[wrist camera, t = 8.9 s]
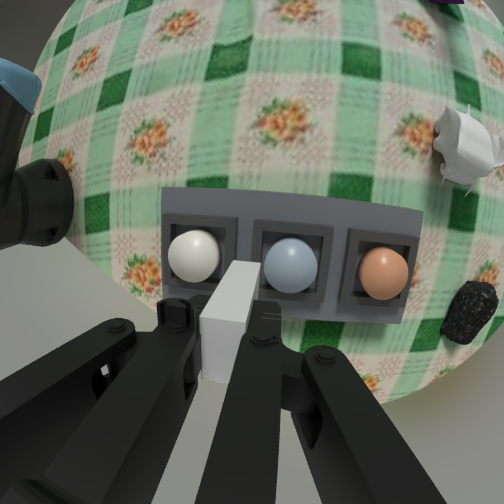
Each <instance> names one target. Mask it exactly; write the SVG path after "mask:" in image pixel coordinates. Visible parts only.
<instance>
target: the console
mask: <svg viewBox="0 0 504 504" xmlns="http://www.w3.org/2000/svg"><path fill="white" fill-rule="evenodd" d="M422 219H423V211H419V210H414V209H410V208H404V207H398V206H392V205H385V204H378V203H372V202H364V201H357V200H349V199H341V198H333V197H324V196H315V195H305V194H295V193H284V192H271V191H258V190H242V189H224V188H199V187H162V195H161V267H162V290H163V299H167V298H183V299H188V300H189V299H190V298H191V297H193V296H195V295H197V294H203V295H210V296H212V295H213V293H214V291H215V290H216V288H217V286H218V285H219V283H220V281H221V280H222V278H223V276H224V275H225V273H226V271H227V270H228V268H229V266H230V265H231V263H232V262H233V260H237V261H247V262H257V263H261V268H260V279H259V291H258V300H261V301H271V302H277V303H278V304H279V306H280V307H281V317H287V318H298V319H310V320H324V321H340V322H359V323H387V324H400V323H401V320H402V316H403V313H404V309H405V305H406V302H407V298H408V294H409V290H410V286H411V281H412V277H413V272H414V267H415V262H416V257H417V252H418V246H419V240H420V234H421V227H422ZM194 229H201V230H205V231H208V232H209V233H211V234H212V235H213V236H214V237H215V238H216V239H217V240H218V242H219V244H220V247H221V253H222V255H221V261H220V263H219V265H218V267H217V268H216V269H215V270H214V271H213V273H212V274H211V275H210V276H209V277H208V278H207V279H205V280H203V281H201V282H188V281H185V280H183V279H181V278H179V277H178V276H177V275H176V274H175V273H174V272H173V270H172V268H171V266H170V264H169V260H168V251H169V247H170V245H171V243H172V242H173V240H174V239H175V238H176V237H178V236H179V235H182V234H184V233H186V232H188V231H190V230H194ZM286 237H295V238H299V239H301V240H303V241H305V242H306V243H307V244H308V245H309V246H310V247H311V249H312V250H313V253H314V255H315V258H316V261H317V274H316V277H315V279H314V281H313V282H312V283H311V284H310V286H308V287H307V288H306V289H304V290H302V291H300V292H296V293H284V292H281V291H279V290H277V289H275V288H274V287H272V286H271V285H270V283H269V282H268V281H267V279H266V276H265V273H264V262H265V259H266V255H267V252H268V250H269V248H270V247H271V246H272V245H273V244H274V243H275V242H276V241H278V240H280V239H282V238H286ZM378 246H384V247H388V248H390V249H392V250H393V251H395V252H396V253H398V254H399V255H400V256H402V257H403V258H404V260H405V261H406V263H407V266H408V279H407V282H406V285H405V286H404V288H403V289H402V291H401V292H400V293H399V294H398V295H396V296H395V297H393V298H391V299H388V300H378V299H375V298H373V297H371V296H370V295H369V294H368V293H367V292H366V290H365V289H364V287H363V286H362V285H361V283H360V281H359V279H358V275H357V268H358V264H359V261H360V259H361V258H362V256H363V255H364V254H365V253H366V252H367V251H368V250H370V249H372V248H374V247H378Z"/></svg>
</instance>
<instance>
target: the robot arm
mask: <svg viewBox="0 0 504 504" xmlns="http://www.w3.org/2000/svg"><path fill="white" fill-rule="evenodd" d="M41 88H42V83H41V80H40V78H39V77H38V76H37V75H35V74H34V73H32V72H30V71H29V70H26V69H25V68H23V67H21V66H19V65H16V64H14V63H12V62H10V61H7V60H5V59H2V58H0V250H2V249H5V248H8V247H11V246H14V245H17V244H25V245H33V246H41V247H44V246H49V245H52V244H55V243H57V242H59V241H60V240H61V239H62V238H63V237H64V236H65V234H66V233H67V231H68V228H69V226H70V223H71V219H72V213H73V190H72V185H71V181H70V177H69V175H68V173H67V171H66V169H65V167H64V166H63V165H62V164H61V163H60V162H59V161H57V160H55V159H38V160H36V161H33V162H31V163H29V164H27V165H25V166H23V167H20V168H19V169H16V170H15V168H16V164H17V160H18V156H19V152H20V149H21V146H22V142H23V139H24V136H25V133H26V130H27V127H28V124H29V121H30V119H31V116H32V115H33V114H34V108H35V105H36V102H37V100H38V97H39V94H40V92H41ZM260 268H261V263H257V262H247V261H237V260H233V262H232V263H231V265H230V266H229V268H228V270H227V271H226V273H225V275H224V276H223V278H222V280H221V281H220V283H219V285H218V286H217V288H216V290H215V291H214V293H213V295H212V296H210V295H203V294H197V295H195V296H193V297H191V298H190V299H189V300H188V299H183V298H167V299H163V300H160V301H159V302H157V316H158V326H157V327H156V328H155V329H154V331H153V332H136V331H135V326H134V324H133V322H131V321H130V320H127V319H123V318H114V319H110V320H107V321H104V322H103V323H101V324H99V325H97V326H95V327H94V328H92V329H90V330H88V331H87V332H85V333H83V334H81V335H80V336H78V337H76V338H74V339H72V340H71V341H69V342H67V343H65V344H63V345H62V346H60V347H58V348H56V349H55V350H53V351H51V352H50V353H48V354H46V355H44V356H42V357H41V358H39V359H37V360H36V361H34V362H32V363H30V364H29V365H27V366H25V367H24V368H22V369H20V370H18V371H16V372H15V373H13V374H11V375H10V376H8V377H6V378H5V379H3V380H1V381H0V504H151V502H152V500H153V498H154V495H155V492H156V490H157V488H158V485H159V483H160V480H161V478H162V475H163V473H164V470H165V468H166V465H167V463H168V460H169V458H170V455H171V452H172V450H173V448H174V445H175V443H176V440H177V438H178V435H179V433H180V430H181V428H182V425H183V423H184V420H185V418H186V415H187V413H188V410H189V408H190V405H191V403H192V401H193V398H194V395H195V393H196V390H197V388H198V379H197V378H198V374H199V372H200V370H201V379H204V380H210V381H216V382H222V383H229V384H228V388H227V391H226V395H225V399H224V402H223V406H222V410H221V413H220V417H219V420H218V424H217V427H216V431H215V434H214V438H213V441H212V445H211V448H210V452H209V455H208V459H207V462H206V466H205V469H204V473H203V476H202V480H201V483H200V486H199V490H198V493H197V497H196V500H195V504H275V499H276V484H277V470H278V455H279V435H280V414H281V413H280V412H281V409H284V410H288V411H291V417H292V420H293V423H294V425H295V429H296V431H297V434H298V437H299V440H300V443H301V446H302V448H303V451H304V454H305V457H306V460H307V463H308V465H309V468H310V471H311V474H312V477H313V479H314V482H315V485H316V488H317V490H318V493H319V496H320V499H321V502H322V504H447V503H446V502H445V500H444V498H443V497H442V495H441V494H440V492H439V491H438V489H437V488H436V486H435V485H434V483H433V482H432V480H431V479H430V477H429V476H428V474H427V473H426V471H425V470H424V468H423V467H422V465H421V464H420V462H419V461H418V459H417V458H416V456H415V455H414V453H413V452H412V450H411V449H410V448H409V446H408V445H407V443H406V442H405V440H404V439H403V437H402V436H401V434H400V433H399V432H398V430H397V429H396V427H395V426H394V424H393V423H392V421H391V420H390V419H389V417H388V416H387V414H386V413H385V411H384V410H383V408H382V407H381V406H380V404H379V403H378V401H377V400H376V398H375V397H374V396H373V394H372V393H371V391H370V390H369V388H368V387H367V386H366V384H365V383H364V381H363V380H362V378H361V377H360V376H359V374H358V373H357V371H356V370H355V369H354V367H353V366H352V364H351V363H350V362H349V360H348V359H347V357H346V356H345V355H344V354H343V353H342V352H341V351H340V350H338V349H336V348H334V347H331V346H326V345H317V346H313V347H310V348H309V349H307V350H306V351H305V353H304V354H303V353H299V352H296V351H293V350H291V349H289V348H287V347H286V346H285V345H284V344H283V343H282V339H281V307H280V306H279V304H278V303H277V302H271V301H261V300H258V291H259V279H260ZM106 364H107V368H108V371H109V373H107V374H106V375H102V372H101V368H102V367H103V366H105V365H106Z"/></svg>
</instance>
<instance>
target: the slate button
mask: <svg viewBox="0 0 504 504" xmlns="http://www.w3.org/2000/svg"><path fill="white" fill-rule="evenodd" d="M264 273H265V276H266V279H267V281H268V282H269V283H270V285H271V286H272V287H274V288H275V289H277V290H279V291H281V292H284V293H296V292H300V291H302V290H304V289H306V288H307V287H308V286H310V284H311V283H312V282H313V281H314V279H315V277H316V274H317V261H316V258H315V255H314V253H313V250H312V249H311V247H310V246H309V245H308V244H307V243H306V242H305V241H303V240H301V239H299V238H295V237H286V238H282V239H280V240H278V241H276V242H275V243H274V244H273V245H272V246H271V247H270V248H269V250H268V252H267V255H266V259H265V262H264Z"/></svg>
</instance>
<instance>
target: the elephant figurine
mask: <svg viewBox="0 0 504 504" xmlns="http://www.w3.org/2000/svg"><path fill="white" fill-rule="evenodd" d="M445 107H446V109H445V110H444V112H443V113H442V114H441V115H440V116H439V118H438V119H437V120H436V122H435V124H434V129H435V131H436V132H437V133H438V134H440V135H439V136H438V137H437V138H435V139H434V142H433V148H434V149H435V150H436V151H438V152H440V153H442V154H443V156H444V159H445V163H442V164H441V167H440V172H441V174H442V176H443V180H442V185H443V182H444V179H445V178H446V179H448V180H450V181H453V182H455V183H458V184H460V185H468V184H470V183H471V186H470V188H469V190H468V192H467V193H466V195H467V194H468V193H469V192H470V191H471V190H472V189H473V188H474V187H475V185H476V180H477V179H478V178H479V177H486V176H488V175H489V174H490V173H491V172H492V171H493V170H494V169H496V168H498V167H500V166H502V165H503V164H504V139H503V138H501V137H499V136H497V135H495V134H492V135H491V136H490V135H489V133H488V131H487V130H486V129H485V128H484V127H483V126H482V125H481V124H480V123H479V122H478V121H476V120H475V119H473V118H471V116H470V104H468V107H467V110H466V113H465V114H464V113H461V112H458V111H456V110H454V109H453V108H450V107H447V106H445ZM466 195H465V196H466ZM465 196H464V197H465Z"/></svg>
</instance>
